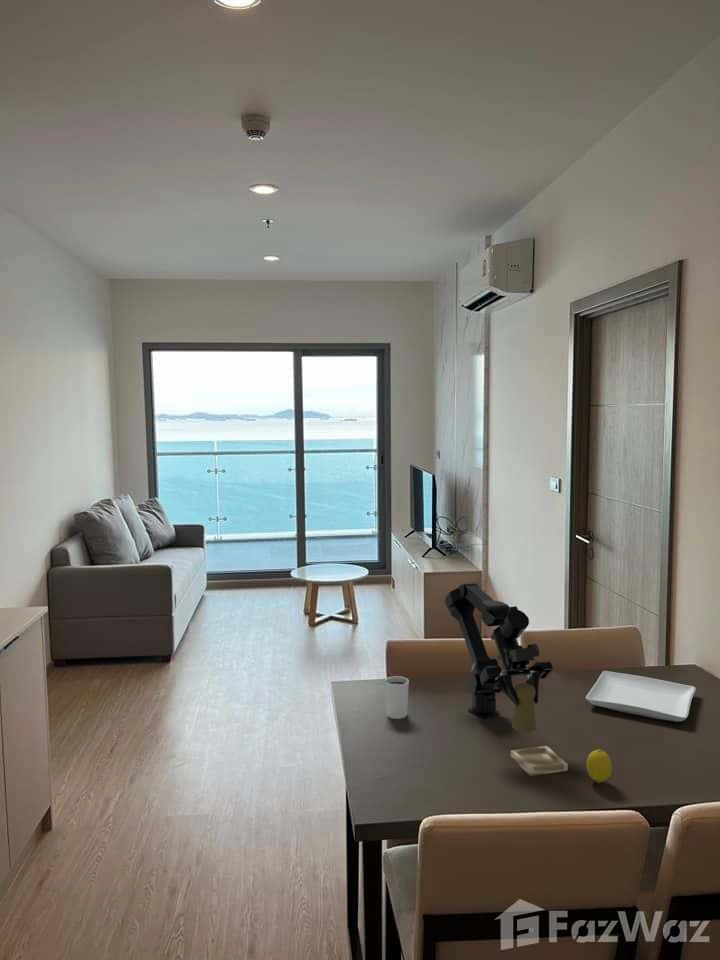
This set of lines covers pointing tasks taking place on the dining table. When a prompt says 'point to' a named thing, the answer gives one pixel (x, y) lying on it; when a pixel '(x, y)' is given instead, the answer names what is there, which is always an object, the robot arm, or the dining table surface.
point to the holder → (538, 760)
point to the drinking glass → (396, 697)
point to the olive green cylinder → (524, 709)
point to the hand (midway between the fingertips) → (527, 704)
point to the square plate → (642, 696)
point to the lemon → (599, 766)
